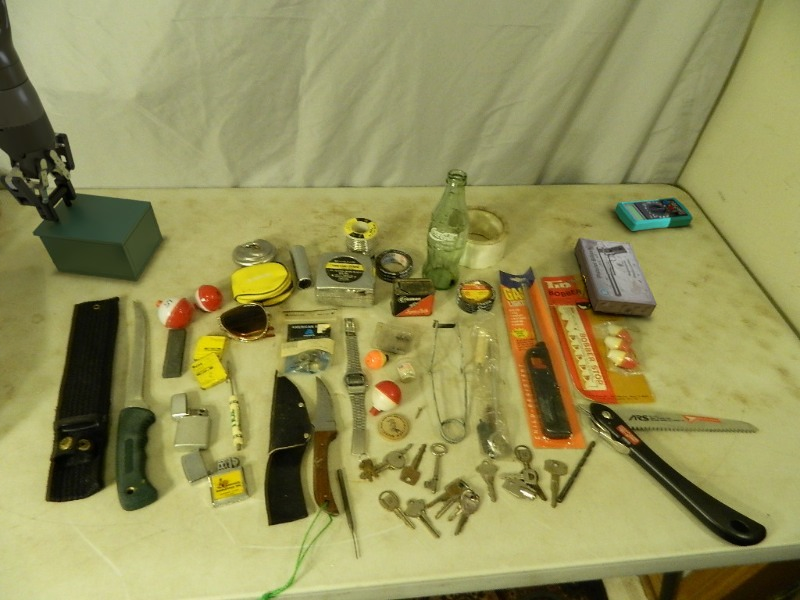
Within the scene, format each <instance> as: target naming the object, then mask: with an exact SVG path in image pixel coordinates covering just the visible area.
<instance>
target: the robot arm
mask: <svg viewBox="0 0 800 600" xmlns="http://www.w3.org/2000/svg"><path fill="white" fill-rule="evenodd" d="M8 10H9V9H8V6H7V1H6V0H0V150H1V151H2V152H4V153H5V154H6V155H7V156H8V157H9V162H10V167H11V170H10V171H9V173H8V175H6V174H2V175H0V183H1V184H2V185H3V187H5V189H6V190H7V191H8V192H9V194H11V196H12V197H13V198H14V199H15V200H16V201H17V203H18V204H19V205H20V206H22V207H23V206H27V207H34V208H35V210H36V211H37V213H38V214H39V217H40V218H41V220H48V221H56V220H57V219H58V218H59V217H58V215H57V213H56V211H55V209H54V208H55V206H54V207H53V205H52V203H51V201H50V200H49V199H48V195H49V193H48V188H49V187H50V184H49V183H50V182H49V177H48V176H49V175H50V176H51V177H52V179H54V180H53V182H54V185H55V186H56V187H57V186H58V185H59V184H63V185H65V186H66V187H67V188H68V192H67V194H68V197H69V199H70V200H75V198H76V197H77V196H76V194H75V193H76V189H75V187H74V185H73V183H72V180H71V178H72V174H71V171H74V170H75V169H76V164H75V161H74V157H73V152H72V148H71V145H70V141H69V138H68V135H67V134H66V133H64V132H55V130H54V128H53V125H52V124H51V121H50V118H49V116H48V114H47V112H46V110H45V107H44V105H43V102H42V100H41V98H40V95H39V94H38V91H37V90H36V88H35V85H33V83H32V81H31V80H30V78H29V76H28V73H27V71H26V69H25V67H24V64H23V62H22V60H21V58H20V55H19V53H18V51H17V49H16V47H15V44H14V41H13V34H12V24H11V21H10V15H9V11H8ZM62 157H64V159H65V161H63V158H62ZM35 180H36V181H35ZM37 180H38V181H37ZM56 187H55V188H56ZM35 189H37V190H38V194H37V193H36V190H35Z"/></svg>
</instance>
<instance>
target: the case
mask: <svg viewBox="0 0 800 600" xmlns="http://www.w3.org/2000/svg"><path fill="white" fill-rule="evenodd" d="M38 238H39V240H40V241H41V243H42V245H43V246H44V248H45V250H46V252H47V254H48V256H49V257H50V259H51V261H52V263H53V265H54V266H55V268H56V270H57V272H59V273H66V274H74V275H83V276H89V277H90V276H91V277H99V278H109V279H116V280H125V281H133V282H138V280H139V279H140V277H141V275H142V274H143V272H144V270H145V269H146V267H147V266H148V264H149V263H150V261H151V260H152V258H153V256H154V255H155V253H156V251H157V250H158V248H159V247H160V245H161V244H162V242H163V241H164V237H163V235H162V232H161V228H160V226H159V222H158V220H157V216H156V214H155V211H154V208H153V205H152V204H151V206H150V208H149V209H148V211H147V212H146V213H145V215H144V216H143V218H142V219H141V220H140V222H139V223H138V225H137V226H136V228H135V229H134V230H133V232H132V233H131V235H130V236H129V238H128V239H127V240H126V242H125V243H124V245H123V246H117V245H109V244H100V243H92V242H83V241H75V240H66V239H58V238H49V237H41V236H38Z"/></svg>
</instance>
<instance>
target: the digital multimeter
mask: <svg viewBox="0 0 800 600" xmlns="http://www.w3.org/2000/svg"><path fill="white" fill-rule="evenodd" d="M614 212H615V213H616V215H617V216H618V218H619V219H620V220H621V222H622V223H623V224H624V225H625V226H626V228H628V229H629V230H630V232H634V231H643V230H652V229H653V230H655V229H664V228H672V227H673V228H674V227H685V226H689V225H690V224H691V222H692V221H693V218H694V217H693V216H692V214H691V213H690V211H689V210H688V208H687V207H686V206H685V204H683V203H682V202H681V201H679V199H677V198H675V197H667V198H666V197H665V198H658V199H656V198H655V199H646V200H636V201H633V200H632V201H621V202H617V204H616V206H615V208H614Z"/></svg>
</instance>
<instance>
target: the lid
mask: <svg viewBox="0 0 800 600" xmlns="http://www.w3.org/2000/svg"><path fill="white" fill-rule="evenodd" d="M67 192H68V188H67V187H66V186H65V185H63V184H59V185H58V186H57V187H55V188H54V189H52V191H51V192H50V193H48V199H49V200H50V201H51V203H52V205H53V207H54V209H55V211H56V213H57V215H58V217H59V218H58V219H57V220H56V221H48V220H44V219H42V221H41V222H40V223H39V224H38V225H37V227H35V228H34V230H33V231H32V235H33V236H34V237H39V236H41V237H49V238H58V239H66V240H75V241H83V242H92V243H100V244H109V245H117V246H123V245H124V243H125V242H126V240H127V239H128V238H129V236H130V235H131V233H132V232H133V230H134V229H135V228H136V226H137V225H138V223H139V222H140V220H141V219H142V218H143V216H144V215H145V213H146V212H147V211H148V209H149V208H150V206H151V205H152V202H151V201H149V200H138V199H130V198H124V197H123V198H122V197H114V196H107V195H106V196H105V195H104V196H103V195H96V194H90V193H88V194H87V193H80V192H79V193H78V192H75V194H76V196H77V197H76V198H75V200H70V199H69V197H68V194H67Z"/></svg>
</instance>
